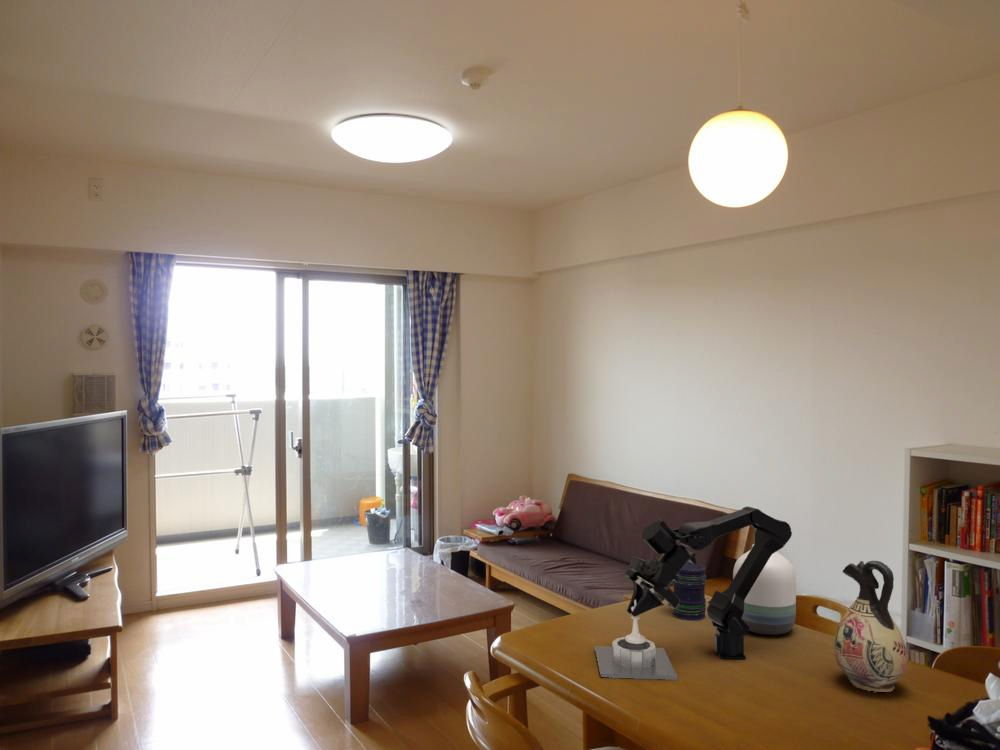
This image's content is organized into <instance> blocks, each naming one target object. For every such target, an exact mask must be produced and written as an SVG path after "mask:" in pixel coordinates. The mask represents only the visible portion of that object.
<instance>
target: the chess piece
mask: <svg viewBox="0 0 1000 750" xmlns="http://www.w3.org/2000/svg"><path fill="white" fill-rule="evenodd" d="M635 606H636V600H634V606H633V607H631V610H632V611H633V610H634V608H635ZM630 619H632V620H633V621H632V630H631V632H630V634H627V635H625V637H626V641H627V642H629V643H634V644H640V643H644V642H645V641H646V640H645V639H646V636H644V635H643V634H641V633H640V631H639V624H638V620H640V615H637V616H635V617H634V616H633V615H631V617H630Z"/></svg>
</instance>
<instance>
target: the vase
mask: <svg viewBox="0 0 1000 750" xmlns="http://www.w3.org/2000/svg"><path fill="white" fill-rule="evenodd" d="M754 544H755V543H753V544H752V545H751V548H752V547H753V546H754ZM750 551H751V549H750V550H748V551H746V552H745V553H743V554H741V556H739V558H738V559H736V562H735V564H734V566H733V570H732V571H733V572H732V573H733V574H732V580H733V579H734V577H735V575H736V574H737V572H738V570H739V569H740V567H741V565H742V564H743V562H744V561H745V559H746V557H747V556H748V554H749V552H750ZM793 566H794V565H792V563H791V562H790V561H789V560H788V559H787V558H786V557H784V556H783V555H782V554H781V552H779V551H776V552H775V553H773V554H772V555H771V557H770V558H769V560H768V562H767V563H766V565H765V567H764V568H763V570H762V572H761V573H760V575H759V577H758V578H757V580H756V582H755V583H754V585H753V587H752V588H751V590H750V592H749V593H748V595H747V597H746V598H745V600H744V613H743V616H742V618H741V619H742V620H743V621H744V622H745V623H746V624H747V625H748V626H749V627H750V628H749V632H750V633H755V634H760V635H765V636H778V635H782V634H783V635H784V634H786V633H788V632H790V631H791V630H792V629H793V627H794V625H795V623H796V622H795V621H796V613H797V612H796V611H797V599H796V598H797V592H796V591H797V581H796V580H797V579H796V571H795V568H794V567H793Z"/></svg>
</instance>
